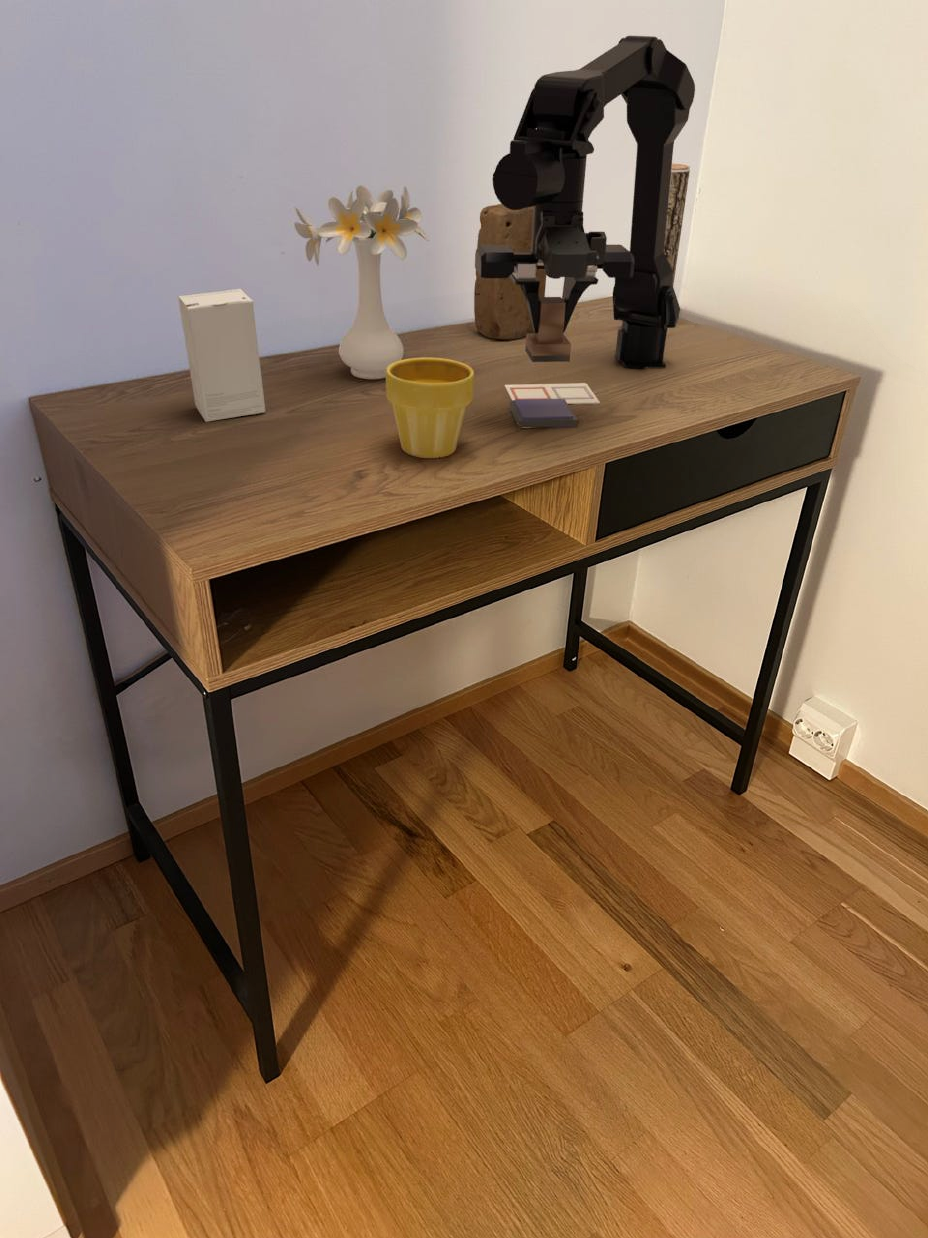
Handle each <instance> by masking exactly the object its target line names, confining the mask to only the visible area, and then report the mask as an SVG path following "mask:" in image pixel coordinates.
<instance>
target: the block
mask: <svg viewBox="0 0 928 1238" xmlns="http://www.w3.org/2000/svg"><path fill="white" fill-rule="evenodd" d="M479 222H480V229H479V230H478V235H477V245H476V249H477V248H478V247H479V246H480V245H508V246H509V247H510V248H511V250H512V251H513V252H514V253H531V240H532V229H533V206H532V207H528V208H524V209H520V210H511V209H509V208H506V207H505V206H504V205H502V204H501V203H499V204H498V203H497V204H492V205H488V206H485V207H484V208H483V207H482V209H481V210H480V212H479ZM539 261H540V260H539ZM542 261H543V260H542ZM475 277H476V279H475V281H474V289H473V290H474V292H473V309H474V310H473V311H474V325H475V328H476V330H477V331H478V332H480V334H481V335H482V336H484V337H486V338H489V339H493V340H505V341H506V340H508V341H510V340H516V339H521V338H523V337H524V336H525V337H526V334H530V333H535V332H534V330H533V327H532V323H531V319H530V315H529V312H528V308H527V304H526V301H525V297H524V294H523V292H522V289H521V287H520V285H517V284H515V283H514V282H513V280H512V279H511V278H510V276H509V277H508V278H482V277H480V275H479V273H478V272H477V270H476V269H475ZM536 277H537V278H538V279H539V281H540V285H539V292H538V295H539V297H546V286H547V285H546V283H547V275H546V273H545V269H536Z"/></svg>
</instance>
